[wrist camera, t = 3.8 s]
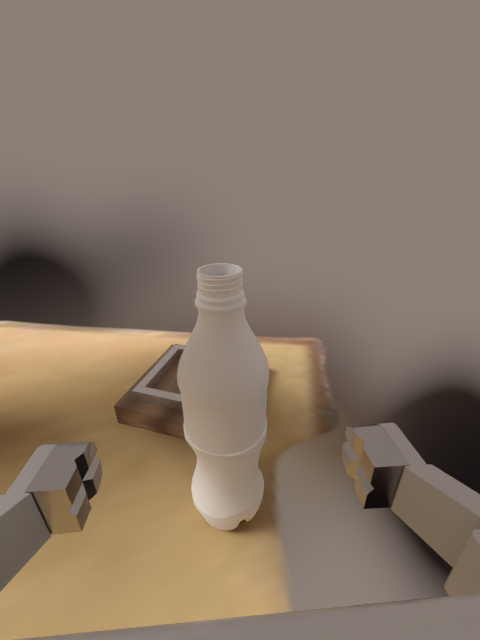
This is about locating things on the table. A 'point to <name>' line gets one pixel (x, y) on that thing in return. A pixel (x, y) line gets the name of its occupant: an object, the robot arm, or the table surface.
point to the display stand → (156, 397)
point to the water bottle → (224, 400)
